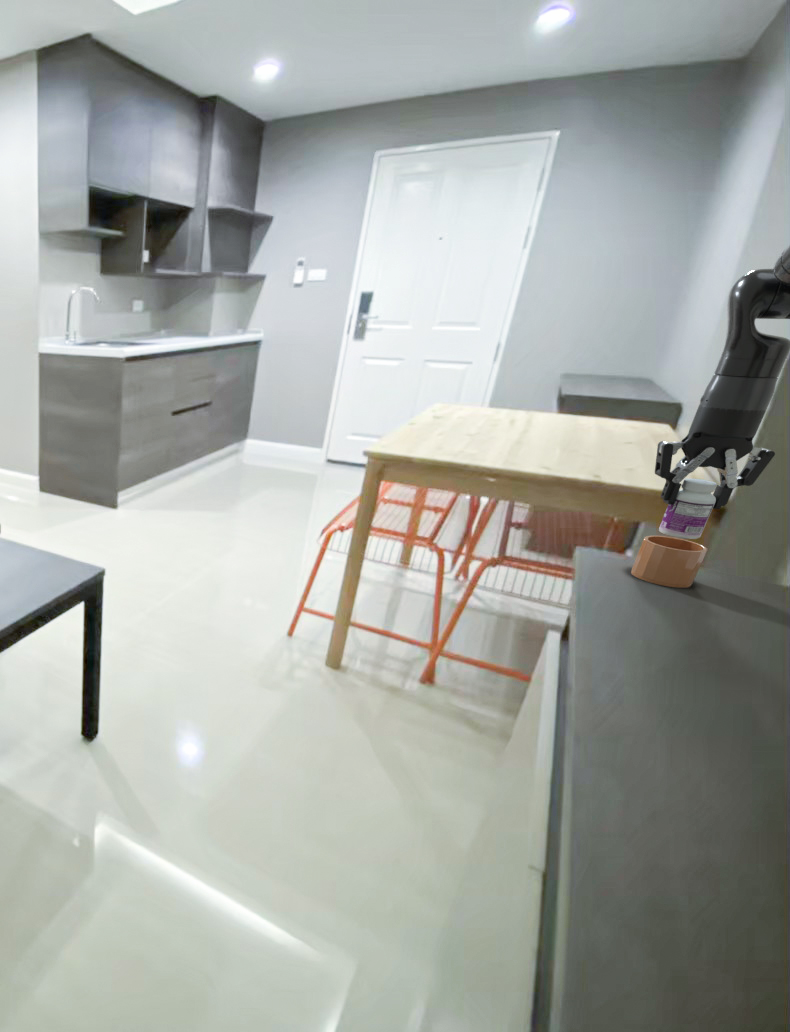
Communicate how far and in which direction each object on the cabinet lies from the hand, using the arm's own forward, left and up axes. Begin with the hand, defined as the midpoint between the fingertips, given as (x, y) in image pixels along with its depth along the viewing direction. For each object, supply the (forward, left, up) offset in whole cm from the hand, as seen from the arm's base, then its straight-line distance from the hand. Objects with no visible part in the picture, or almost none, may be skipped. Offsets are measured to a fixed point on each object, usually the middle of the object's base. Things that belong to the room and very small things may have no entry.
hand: (690, 504), depth 104 cm
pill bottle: (0, 0, -6) cm, 6 cm away
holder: (0, 0, -14) cm, 14 cm away
